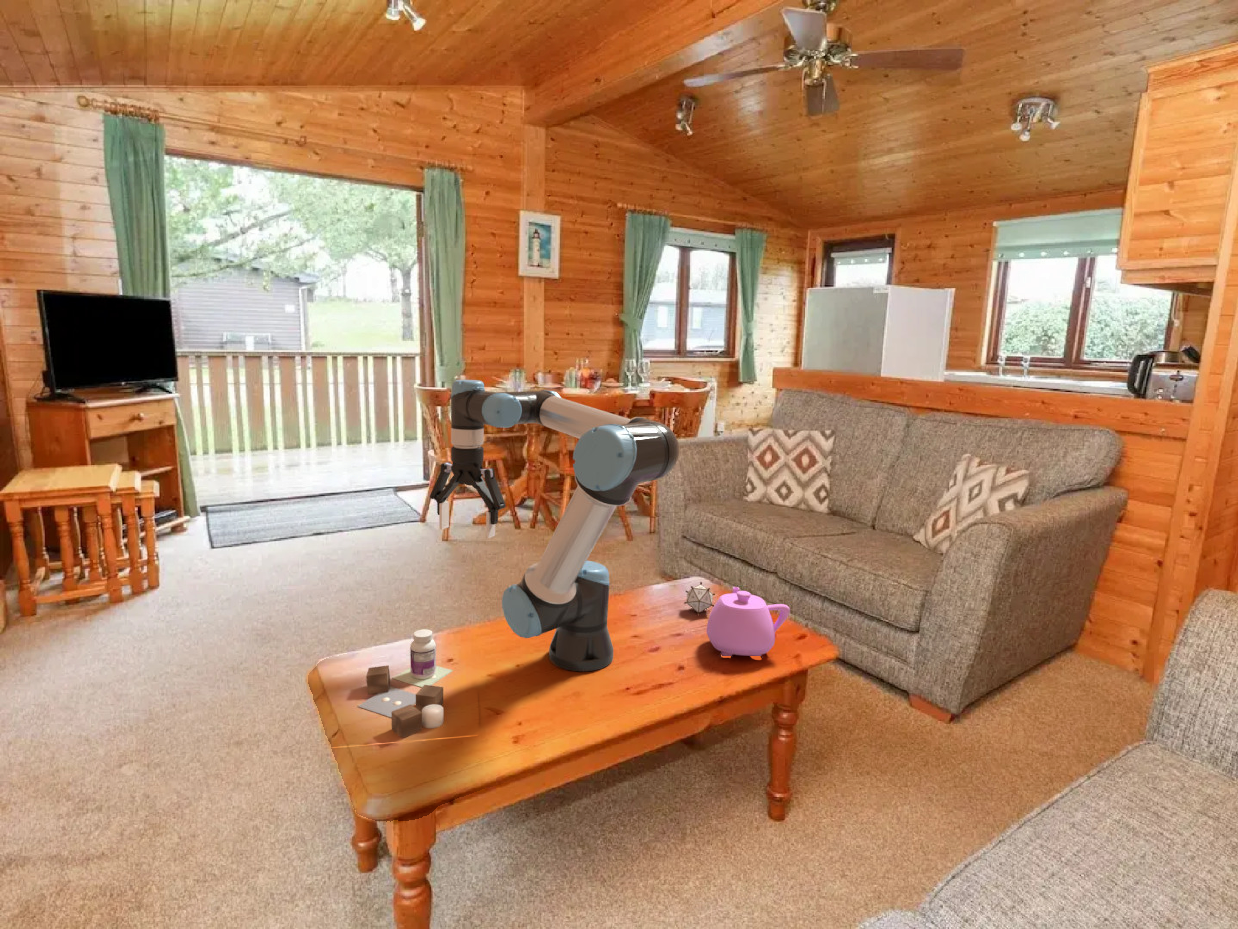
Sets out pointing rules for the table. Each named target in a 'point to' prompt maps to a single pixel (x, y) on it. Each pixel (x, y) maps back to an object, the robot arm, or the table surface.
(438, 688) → the cube
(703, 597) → the game die
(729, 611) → the teapot
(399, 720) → the cube
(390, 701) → the pad two
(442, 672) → the pad three
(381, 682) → the cube
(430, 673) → the pill bottle
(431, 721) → the white cap
